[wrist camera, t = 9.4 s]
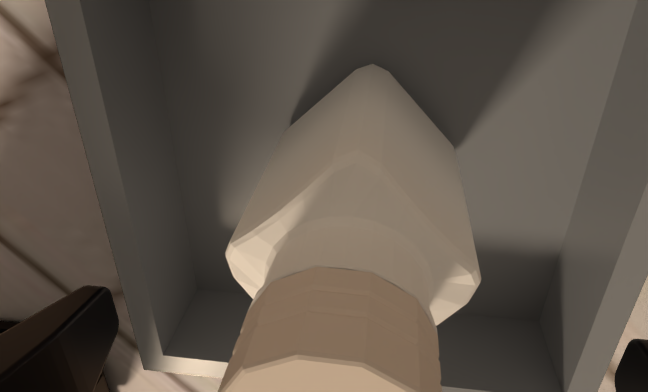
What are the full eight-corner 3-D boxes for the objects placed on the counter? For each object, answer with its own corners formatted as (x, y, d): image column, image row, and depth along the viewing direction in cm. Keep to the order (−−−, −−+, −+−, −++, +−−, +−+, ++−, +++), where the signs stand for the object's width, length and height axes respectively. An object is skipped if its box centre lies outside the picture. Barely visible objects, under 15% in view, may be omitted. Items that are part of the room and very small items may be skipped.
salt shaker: (273, 136, 15) (130, 410, 7) (374, 47, 14) (334, 278, 5) (360, 222, 16) (320, 540, 8) (464, 151, 15) (539, 466, 7)
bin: (187, 289, 20) (143, 369, 17) (112, -126, 13) (9, -132, 10) (551, 323, 19) (585, 419, 15) (698, -127, 11) (823, -135, 8)
